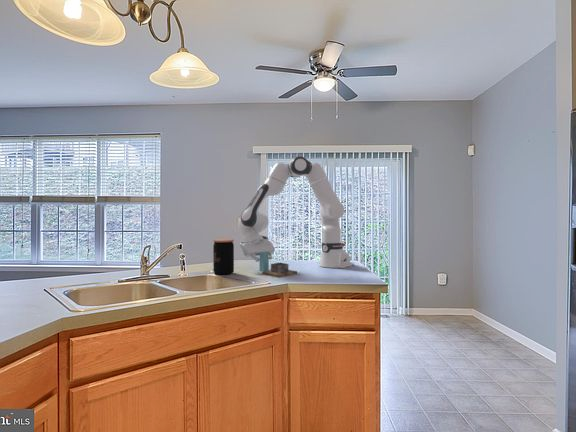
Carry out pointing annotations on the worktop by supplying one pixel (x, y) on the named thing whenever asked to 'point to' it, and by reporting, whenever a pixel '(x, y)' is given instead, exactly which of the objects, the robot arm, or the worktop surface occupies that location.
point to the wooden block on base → (279, 270)
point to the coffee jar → (223, 256)
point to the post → (264, 261)
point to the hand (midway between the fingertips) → (264, 260)
